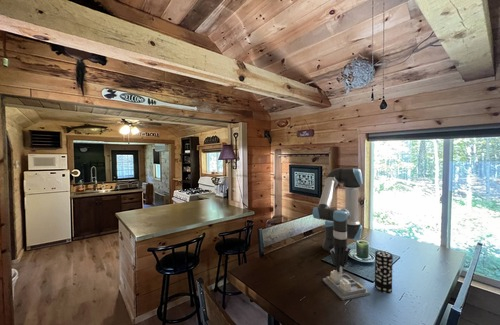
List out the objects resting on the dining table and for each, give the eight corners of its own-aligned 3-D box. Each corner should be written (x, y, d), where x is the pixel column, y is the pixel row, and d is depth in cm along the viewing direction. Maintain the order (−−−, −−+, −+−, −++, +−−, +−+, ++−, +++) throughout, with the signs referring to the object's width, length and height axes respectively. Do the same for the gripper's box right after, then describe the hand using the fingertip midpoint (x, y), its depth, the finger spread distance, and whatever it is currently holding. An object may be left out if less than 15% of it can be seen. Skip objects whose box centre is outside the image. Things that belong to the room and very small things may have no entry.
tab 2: (345, 287, 121) (345, 277, 121) (350, 292, 118) (350, 281, 117) (339, 289, 120) (339, 278, 120) (344, 293, 117) (344, 283, 116)
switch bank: (347, 276, 135) (347, 271, 135) (369, 294, 118) (369, 289, 118) (322, 280, 131) (322, 275, 131) (342, 300, 114) (342, 294, 113)
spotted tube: (373, 283, 128) (374, 249, 127) (390, 286, 125) (390, 251, 124) (376, 291, 120) (376, 256, 119) (393, 295, 117) (394, 258, 116)
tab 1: (336, 278, 130) (336, 269, 130) (340, 282, 126) (340, 272, 126) (330, 279, 129) (330, 270, 129) (334, 283, 125) (334, 273, 125)
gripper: (345, 233, 133) (344, 271, 134) (326, 236, 129) (326, 274, 130) (354, 238, 125) (353, 278, 126) (334, 241, 122) (334, 281, 123)
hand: (339, 276), depth 128 cm, fingers closed
